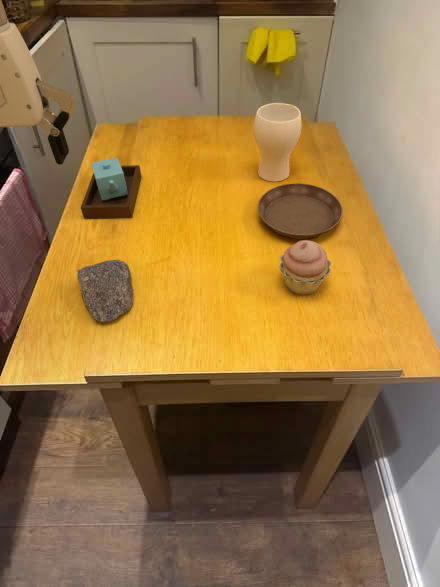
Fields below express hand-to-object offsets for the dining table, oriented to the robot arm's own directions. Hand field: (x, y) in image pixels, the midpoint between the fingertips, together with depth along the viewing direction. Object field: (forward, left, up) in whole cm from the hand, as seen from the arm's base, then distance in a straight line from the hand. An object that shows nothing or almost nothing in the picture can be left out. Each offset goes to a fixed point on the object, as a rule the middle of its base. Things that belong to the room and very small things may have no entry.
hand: (27, 160), depth 56 cm
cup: (+12, +53, -26) cm, 61 cm away
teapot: (-15, +25, -26) cm, 39 cm away
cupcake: (+34, +23, -26) cm, 49 cm away
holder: (-15, +25, -26) cm, 39 cm away
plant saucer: (+25, +40, -26) cm, 54 cm away
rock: (+7, +1, -26) cm, 27 cm away
